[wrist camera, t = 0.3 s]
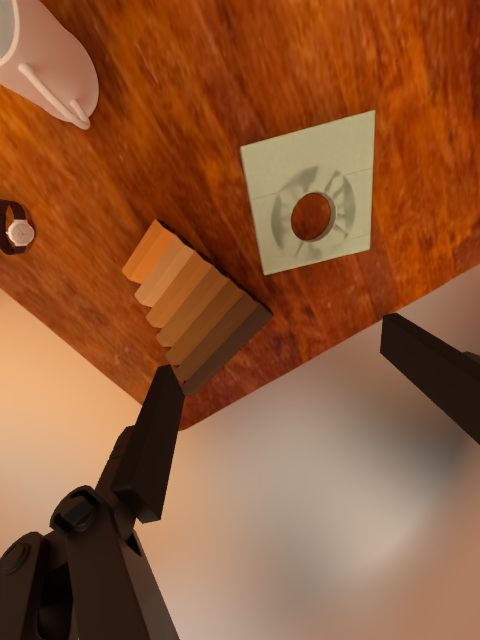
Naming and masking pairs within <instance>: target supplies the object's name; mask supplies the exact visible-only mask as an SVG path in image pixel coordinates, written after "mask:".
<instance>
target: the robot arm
mask: <svg viewBox="0 0 480 640" xmlns="http://www.w3.org/2000/svg"><path fill="white" fill-rule="evenodd" d="M380 353H381V354H382V355H383V356H384V357H385V358H386V359H387V360H389V361H390V362H391V363H392V364H393V365H394V366H395V367H396V368H397V369H398V370H399V371H401V373H403V374H404V375H405V376H406V377H407V378H408V379H409V380H410V381H411V382H412V383H413V384H414V385H416V386H417V387H418V388H419V389H420V390H421V391H422V392H423V393H424V394H425V395H426V396H427V397H429V398H430V399H431V400H432V401H433V402H434V403H435V404H436V405H437V406H438V407H439V408H441V409H442V410H443V411H444V412H445V413H446V414H447V415H448V416H449V417H450V418H451V419H452V420H453V421H454V422H456V423H457V424H458V425H459V426H460V427H461V428H462V429H463V430H464V431H465V432H466V433H467V434H469V435H470V436H471V437H472V438H473V439H474V440H475V441H476V442H477V443H478V444H479V445H480V356H479V355H476V354H473V353H471V352H468V351H467V352H463V353H462V352H460V351H458V350H457V349H455V348H453V347H452V346H450V345H448V344H447V343H445V342H444V341H442V340H440V339H439V338H437V337H435V336H434V335H432V334H430V333H429V332H427V331H425V330H424V329H422V328H421V327H419V326H417V325H416V324H414V323H412V322H410V321H409V320H407V319H406V318H404V317H402V316H401V315H399V314H398V313H392V314H388V315H384V316H383V323H382V335H381V347H380ZM184 398H185V395H184V393H183V391H182V389H181V387H180V384H179V382H178V380H177V378H176V376H175V374H174V372H173V370H172V368H171V365H165V366H161V367H158V369H157V371H156V374H155V376H154V379H153V381H152V384H151V386H150V388H149V391H148V393H147V396H146V398H145V401H144V403H143V406H142V408H141V411H140V414H139V416H138V419H137V421H136V424H135V425H133V426H128V427H126V428H125V429H124V431H123V432H122V433H121V435H120V436H119V437H118V439H117V441H116V443H115V446H114V448H113V451H112V453H111V455H110V457H109V460H108V461H107V464H106V466H105V468H104V470H103V472H102V474H101V477H100V479H99V481H98V484H97V486H96V488H95V490H94V489H93V488H92V487H91V486H87V485H84V486H81V487H78V488H76V489H75V490H73V491H72V492H70V493H69V494H68V495H67V496H66V497H65V498H64V499H63V500H61V502H60V503H59V505H58V506H57V507H56V509H55V510H54V513H53V515H52V517H51V519H50V526H49V527H51V528H52V529H54V531H52V532H50V533H48V534H46V535H45V536H43V535H41V534H40V533H38V532H30V533H28V534H26V535H23V536H22V537H21V538H19V539H18V540H17V541H16V542H14V543H13V544H12V545H11V546H10V547H9V548H8V550H7V551H6V552H5V553H4V554H3V556H2V557H1V558H0V640H78V638H79V640H180V639H179V637H178V634H177V632H176V629H175V627H174V624H173V622H172V619H171V617H170V614H169V612H168V609H167V607H166V605H165V602H164V600H163V597H162V595H161V592H160V590H159V587H158V585H157V582H156V580H155V577H154V575H153V573H152V570H151V568H150V565H149V563H148V560H147V558H146V555H145V553H144V550H143V548H142V546H141V543H140V541H139V538H138V536H137V533H136V531H135V530H134V529H133V527H134V524H135V520H136V517H137V518H138V519H139V521H140V522H141V523H142V524H143V523H148V522H153V521H158V520H161V515H162V510H163V505H164V500H165V495H166V490H167V485H168V480H169V474H170V469H171V464H172V458H173V454H174V449H175V444H176V439H177V434H178V429H179V424H180V419H181V414H182V408H183V403H184Z"/></svg>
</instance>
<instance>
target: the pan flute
mask: <svg viewBox="0 0 480 640" xmlns="http://www.w3.org/2000/svg"><path fill="white" fill-rule="evenodd" d="M121 271H122V272H123V273H124V274H125V276H126V277H127V278H128V279H129V280H131V281H134V282H137V283H140V284H141V286H140V287H139V289H138V290H137V292H136V293H135V294H134V296H135V297H136V299H137V300H138V301H139V302H140V304H142V305H145V306H149V307H153V308H152V309H151V310H150V312H149V313H148V314H147V316H146V317H145V318H146V319H147V321H148V322H149V323H150V324H151V326H152V327H158V328H163V329H162V330H161V331H160V332H159V334H158V335H157V336H156V337H155V338H156V339H157V341H158V342H159V343H160V344H161V346H163V347H172V348H171V349H170V350H169V351H168V352H167V353H166V355H165V357H166V359H167V360H168V361H169V363H170V364H172V365H179V366H178V367H177V369H176V370H175V371H174V374H175V376H176V377H177V379H178V380H179V381H186V382H185V383H184V384H183V385H182V387H181V389H182V390H183V392H184V393H185V394H186V396H192V395H195V394H196V393H197V392H198V391H199V390H200V389H201V388H202V387H203V386H204V385H205V384H206V383H207V382H208V381H209V380H210V379H211V378H212V377H213V376H214V375H215V374H216V373H217V372H218V371H219V370H220V369H221V368H222V367H223V366H224V365H225V364H226V363H227V362H228V361H229V360H230V359H231V358H232V357H233V356H234V355H235V354H236V353H237V352H238V351H239V350H240V349H241V348H242V347H243V346H244V345H245V344H246V343H247V342H248V341H249V340H250V339H251V338H252V337H253V336H254V335H255V334H256V333H257V332H258V331H259V330H260V329H261V328H262V327H263V326H264V325H265V324H266V323H267V322H268V321H269V320H270V319H271V318H272V317H273V316H274V314H273V313H272V311H271V310H270V308H268V307H267V306H266V305H265V304H263V303H262V302H261V303H259V301H258V300H257V298H256V297H255V296H254V295H252V294H251V293H250V292H249V291H248V290H247V291H246V292H245V290H244V289H243V287H242V286H241V285H240V284H239V283H238V282H237V281H235V280H234V279H233V278H232V279H230V278H229V277H228V275H227V273H226V272H224V271H223V270H222V269H221V268H219V267H218V266H217V265H214V266H213V264H212V262H211V260H210V259H208V258H207V257H206V256H205V255H204V254H202V253H201V252H200V251H195V249H194V247H193V245H191V244H190V243H189V242H188V241H186V240H185V239H184V238H183V237H181V236H177V235H176V234H175V231H174V230H173V229H172V228H171V227H169V226H168V225H167V224H166V223H164V222H163V221H161V220H158V219H155V220H154V221H153V223H152V224H151V226H150V227H149V229H148V230H147V232H146V233H145V235H144V237H143V238H142V240H141V241H140V243H139V244H138V246H137V247H136V249H135V250H134V252H133V253H132V255H131V257H130V258H129V260H128V261H127V263H126V264H125V266H124V267H123V269H122V270H121Z"/></svg>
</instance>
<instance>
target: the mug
mask: <svg viewBox="0 0 480 640" xmlns="http://www.w3.org/2000/svg"><path fill="white" fill-rule="evenodd" d="M0 84H1V85H2V86H4V87H6V88H8V89H10V90H11V91H13V92H15V93H17V94H19V95H21V96H22V97H24V98H26V99H28V100H30V101H31V102H33V103H35V104H37V105H39V106H40V107H42V108H43V109H44V110H46V111H47V112H48V113H49V114H51V115H52V116H54V117H56V118H58V119H60V120H63V121H66V122H72V123H73V124H75V125H76V126H78V127H79V128H81V129H84V130H86V129H88V128H89V127H90V121H89V119H88V117H89V116H90V115H91V114H92V113H93V111H94V110H95V108H96V105H97V102H98V96H99V85H98V78H97V74H96V71H95V68H94V65H93V63H92V61H91V59H90V57H89V55H88V53H87V52H86V50H85V49H84V47H83V46H82V44H81V43H80V42H79V41H78V40H77V39H76V38H75V37H74V36H73V35H72V34H71V33H70V32H68V31H67V30H66V29H65V28H64V27H63V26H62V25H61V24H60V23H59V22H58V21H57V19H56V18H55V17H54V16H53V15H52V14H51V13H50V11H49V10H48V9H47V8H46V7H45V6H44V5H43V4H42V2H41V1H40V0H0Z"/></svg>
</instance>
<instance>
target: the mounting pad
mask: <svg viewBox="0 0 480 640" xmlns="http://www.w3.org/2000/svg"><path fill="white" fill-rule="evenodd" d="M374 126H375V110H372V111H369V112H365V113H361V114H358V115H354V116H350V117H347V118H343V119H340V120H336V121H332V122H329V123H325V124H321V125H318V126H314V127H310V128H307V129H303V130H300V131H296V132H292V133H289V134H285V135H281V136H278V137H274V138H270V139H267V140H263V141H260V142H256V143H252V144H249V145H245V146H241V147H240V156H241V161H242V166H243V172H244V177H245V182H246V187H247V193H248V198H249V203H250V209H251V214H252V219H253V224H254V230H255V235H256V240H257V246H258V251H259V256H260V261H261V267H262V272H263V274H264V275H268V274H272V273H276V272H280V271H284V270H288V269H292V268H296V267H300V266H304V265H308V264H312V263H316V262H320V261H324V260H328V259H332V258H336V257H340V256H344V255H348V254H353V253H357V252H361V251H365V250H369V249H370V230H371V203H372V177H373V153H374ZM311 192H314V193H319V194H321V195H322V196H323V197H325V198H326V199H327V201H328V203H329V205H330V210H331V217H330V221H329V224H328V226H327V228H326V229H325V231H324V232H323V233H322V234H321V235H320V236H318V237H317V238H315V239H312V240H308V241H305V240H301V239H299V238H298V237H296V235H295V234H294V232H293V230H292V228H291V215H292V210H293V208H294V206H295V205H296V203H297V202H298V200H299V199H301V198H302V197H303V196H304V195H306V194H308V193H311Z"/></svg>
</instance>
